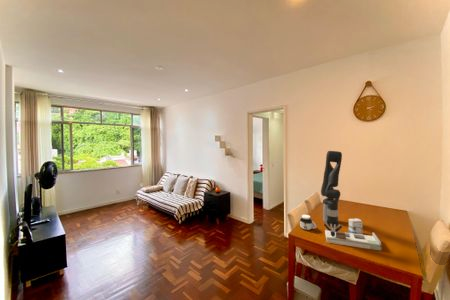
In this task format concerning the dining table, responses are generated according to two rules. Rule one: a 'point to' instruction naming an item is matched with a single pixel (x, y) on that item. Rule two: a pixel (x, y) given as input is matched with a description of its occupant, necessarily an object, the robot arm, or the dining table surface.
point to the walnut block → (340, 235)
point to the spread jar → (307, 223)
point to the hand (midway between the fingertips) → (332, 236)
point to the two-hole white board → (355, 240)
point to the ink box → (355, 226)
